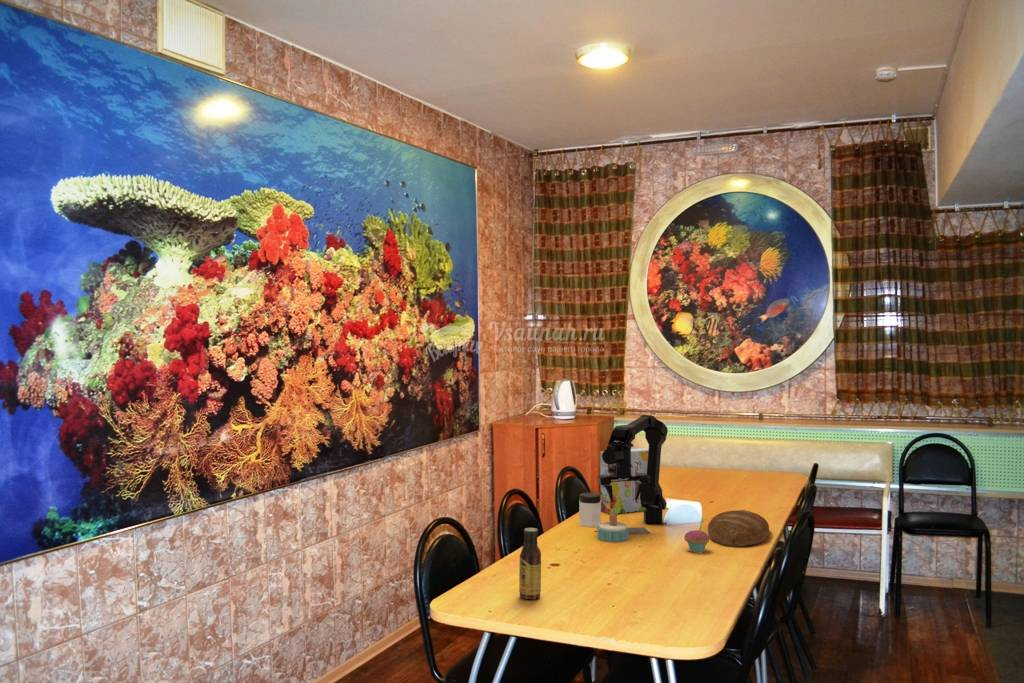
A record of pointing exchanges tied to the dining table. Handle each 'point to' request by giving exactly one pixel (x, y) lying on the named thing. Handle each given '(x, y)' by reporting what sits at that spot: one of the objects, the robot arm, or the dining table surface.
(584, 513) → the jar
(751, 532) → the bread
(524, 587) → the sauce bottle
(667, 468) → the dining table surface
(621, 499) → the snack box
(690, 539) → the cupcake
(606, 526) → the lid
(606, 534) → the bowl
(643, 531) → the mat
